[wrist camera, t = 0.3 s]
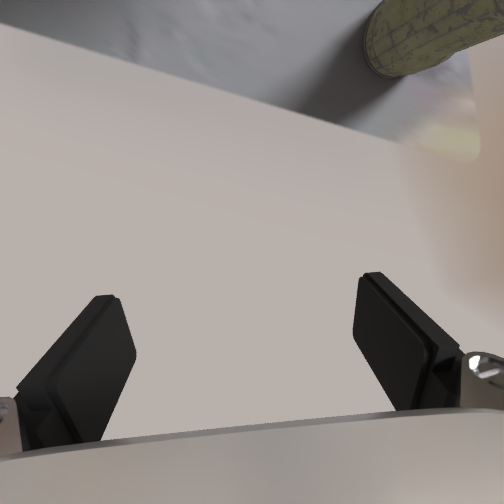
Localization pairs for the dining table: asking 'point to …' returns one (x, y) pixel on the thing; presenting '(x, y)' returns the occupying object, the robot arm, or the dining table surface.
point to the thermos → (426, 32)
